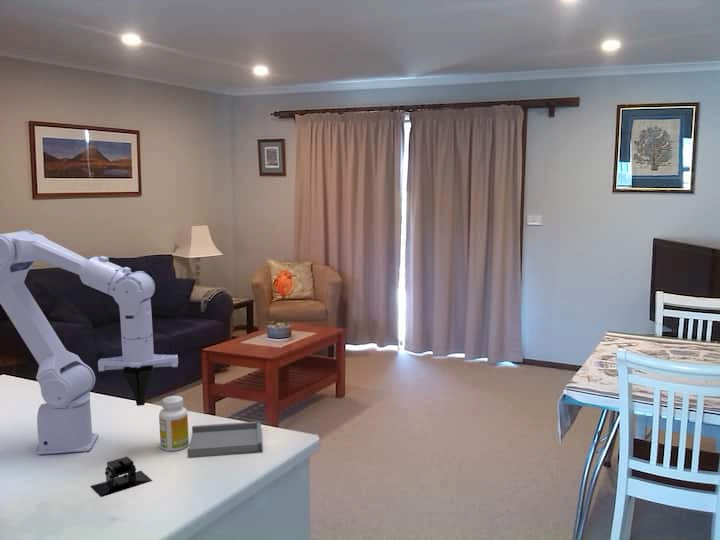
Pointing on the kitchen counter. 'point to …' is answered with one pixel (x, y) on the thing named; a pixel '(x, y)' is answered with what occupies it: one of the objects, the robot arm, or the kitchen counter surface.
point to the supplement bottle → (173, 424)
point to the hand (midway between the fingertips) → (141, 403)
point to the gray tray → (225, 439)
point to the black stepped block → (122, 482)
